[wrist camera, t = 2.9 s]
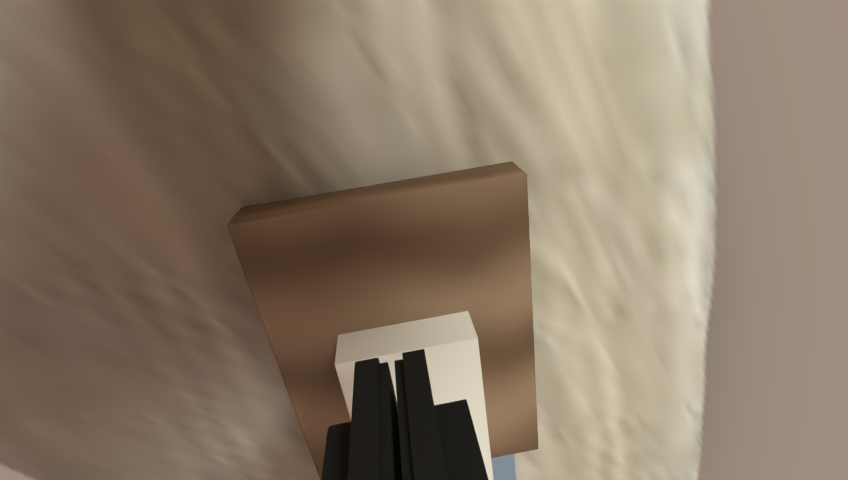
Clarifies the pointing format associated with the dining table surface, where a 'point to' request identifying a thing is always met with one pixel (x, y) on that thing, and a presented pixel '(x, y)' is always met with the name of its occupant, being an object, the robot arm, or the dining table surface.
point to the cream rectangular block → (446, 361)
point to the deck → (397, 285)
